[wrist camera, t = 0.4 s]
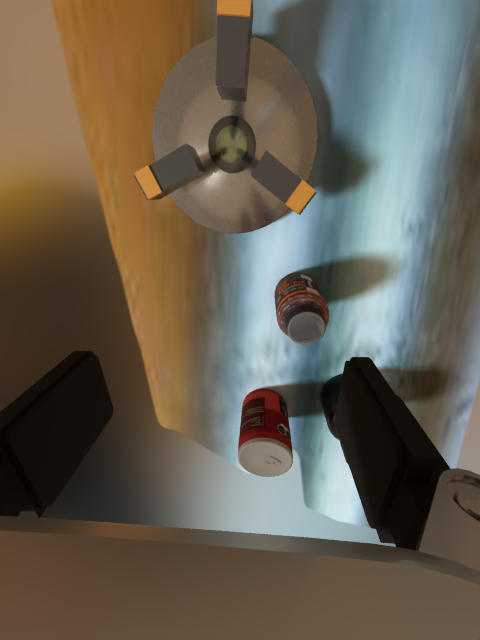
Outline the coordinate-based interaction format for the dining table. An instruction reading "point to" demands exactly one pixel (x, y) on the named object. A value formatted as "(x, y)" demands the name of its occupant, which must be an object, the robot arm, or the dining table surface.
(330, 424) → the ink bottle
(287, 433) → the canned food
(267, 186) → the orange-tipped grey bar
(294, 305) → the supplement bottle
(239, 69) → the grey chuck jaw
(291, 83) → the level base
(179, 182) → the grey and orange block
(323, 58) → the dining table surface
